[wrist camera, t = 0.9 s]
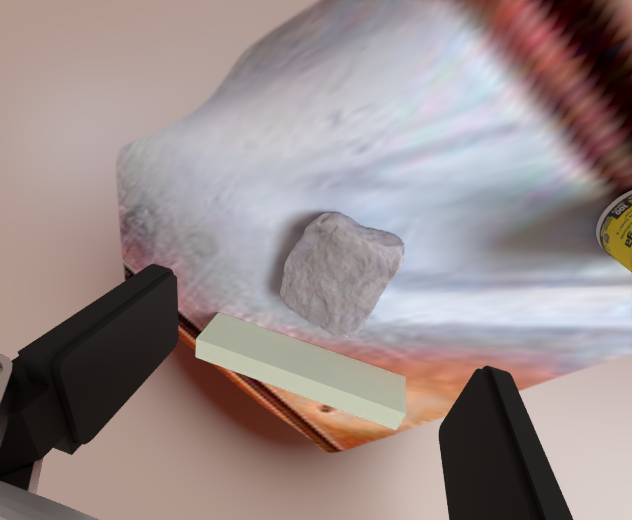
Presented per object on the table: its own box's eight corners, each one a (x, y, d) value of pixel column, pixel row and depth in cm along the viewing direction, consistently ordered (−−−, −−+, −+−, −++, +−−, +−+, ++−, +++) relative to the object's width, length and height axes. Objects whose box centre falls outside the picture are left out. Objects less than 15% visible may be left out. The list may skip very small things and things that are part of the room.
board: (218, 312, 39) (196, 338, 35) (405, 376, 37) (406, 413, 32) (217, 329, 41) (195, 357, 36) (396, 392, 38) (396, 430, 34)
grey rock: (288, 283, 37) (361, 328, 35) (266, 301, 33) (348, 353, 31) (324, 192, 31) (415, 240, 29) (304, 200, 27) (407, 257, 25)
